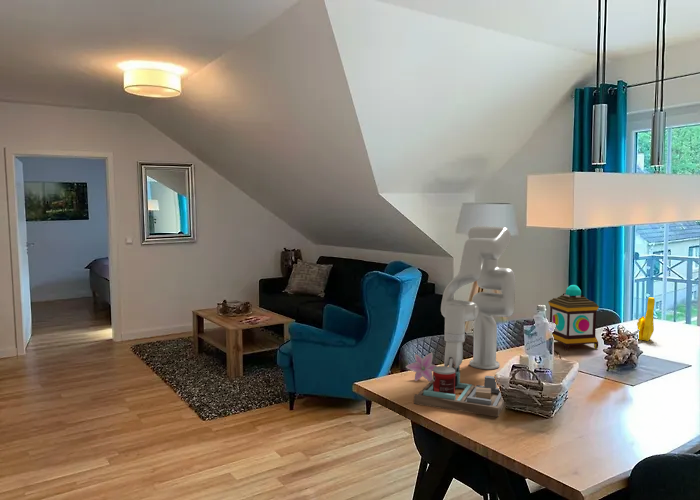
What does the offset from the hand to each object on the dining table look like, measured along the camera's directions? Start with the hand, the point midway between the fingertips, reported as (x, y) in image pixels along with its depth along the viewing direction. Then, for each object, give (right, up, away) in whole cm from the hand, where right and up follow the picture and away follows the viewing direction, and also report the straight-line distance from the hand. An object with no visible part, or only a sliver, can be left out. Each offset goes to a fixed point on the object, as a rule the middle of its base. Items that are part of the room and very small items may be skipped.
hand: (453, 383), depth 214 cm
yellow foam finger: (+110, +5, +72) cm, 131 cm away
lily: (-11, -1, +10) cm, 15 cm away
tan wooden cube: (+7, -3, -17) cm, 19 cm away
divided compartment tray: (+1, -2, -13) cm, 14 cm away
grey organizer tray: (+8, -2, -15) cm, 17 cm away
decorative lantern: (+69, +4, +61) cm, 92 cm away
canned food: (-6, -3, -13) cm, 15 cm away
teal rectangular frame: (-4, -2, -9) cm, 10 cm away
